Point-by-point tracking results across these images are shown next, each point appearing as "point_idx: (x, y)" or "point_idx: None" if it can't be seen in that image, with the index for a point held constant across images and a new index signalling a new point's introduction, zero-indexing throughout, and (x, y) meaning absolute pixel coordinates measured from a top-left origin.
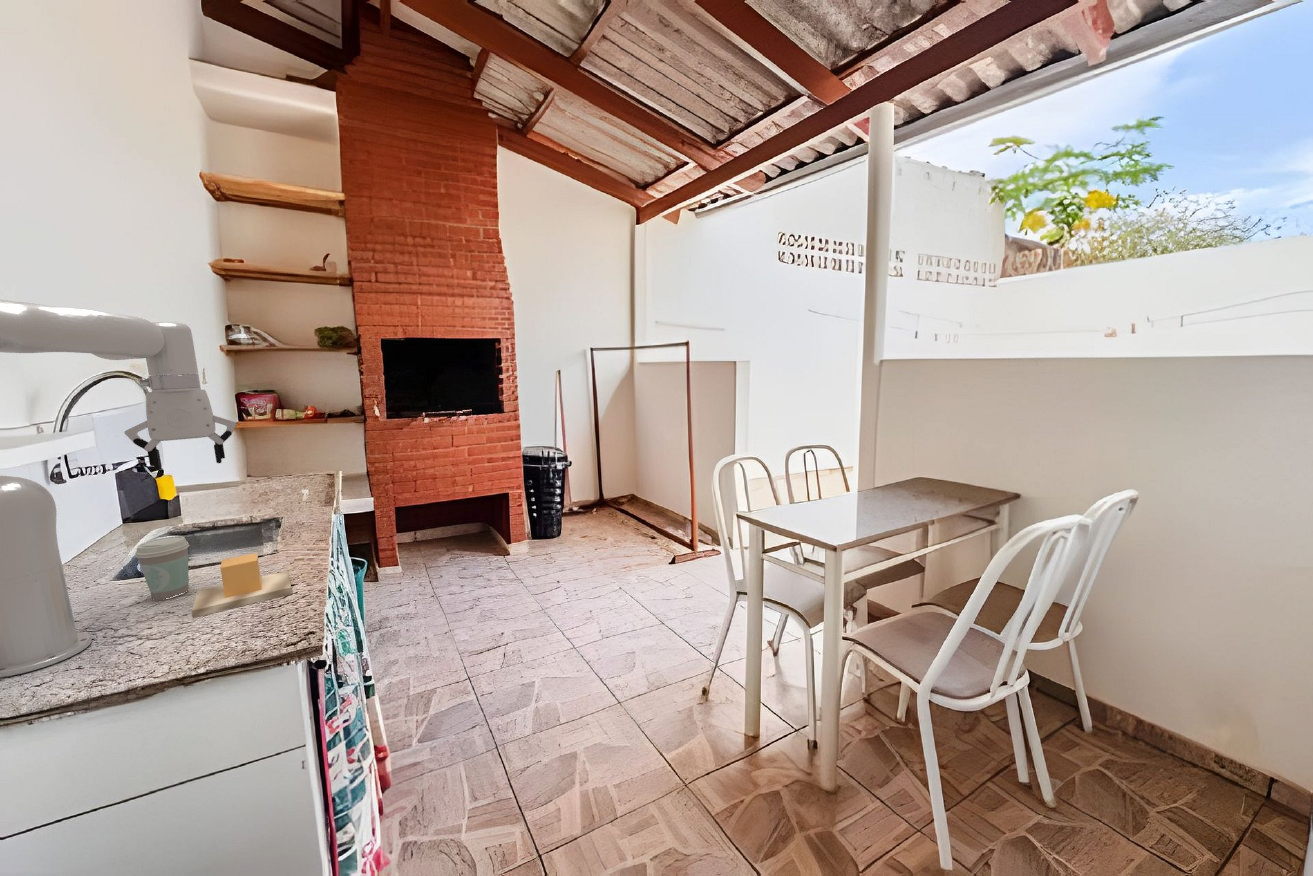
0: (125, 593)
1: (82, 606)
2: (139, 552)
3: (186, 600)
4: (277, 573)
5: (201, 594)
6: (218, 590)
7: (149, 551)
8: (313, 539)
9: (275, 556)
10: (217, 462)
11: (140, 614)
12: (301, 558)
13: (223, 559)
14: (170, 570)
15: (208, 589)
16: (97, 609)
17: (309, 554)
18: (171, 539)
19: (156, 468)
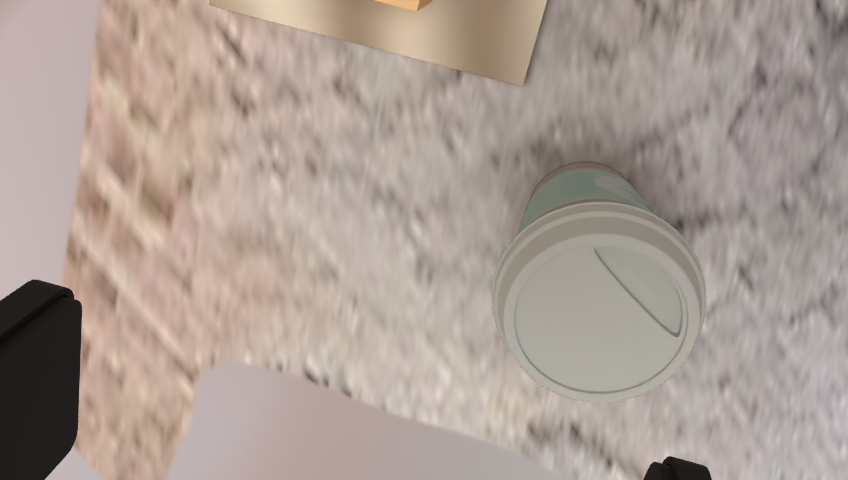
0: (678, 379)
1: (802, 366)
2: (698, 285)
3: (562, 87)
4: (250, 9)
5: (524, 14)
6: (466, 4)
7: (668, 243)
8: (81, 407)
9: (222, 327)
10: (68, 297)
11: (710, 77)
12: (149, 209)
13: (411, 9)
14: (591, 188)
15: (490, 59)
16: (783, 285)
17: (117, 232)
18: (552, 342)
19: (691, 467)
